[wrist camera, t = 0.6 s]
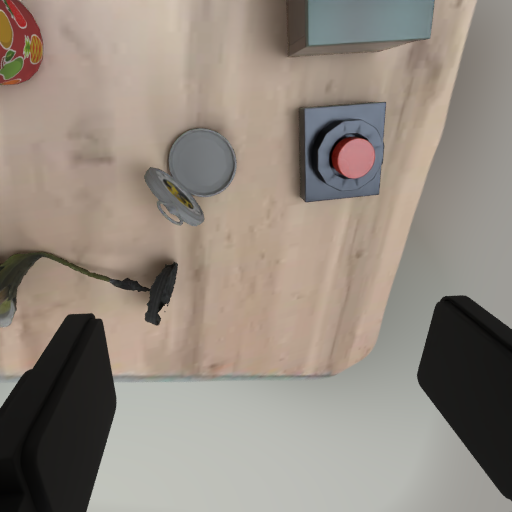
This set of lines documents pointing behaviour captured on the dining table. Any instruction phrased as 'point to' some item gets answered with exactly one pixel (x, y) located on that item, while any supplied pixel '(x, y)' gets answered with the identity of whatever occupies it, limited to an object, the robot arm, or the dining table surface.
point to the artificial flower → (15, 267)
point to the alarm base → (324, 141)
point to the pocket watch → (193, 174)
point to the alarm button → (353, 157)
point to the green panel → (366, 21)
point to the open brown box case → (298, 46)
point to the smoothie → (18, 43)
